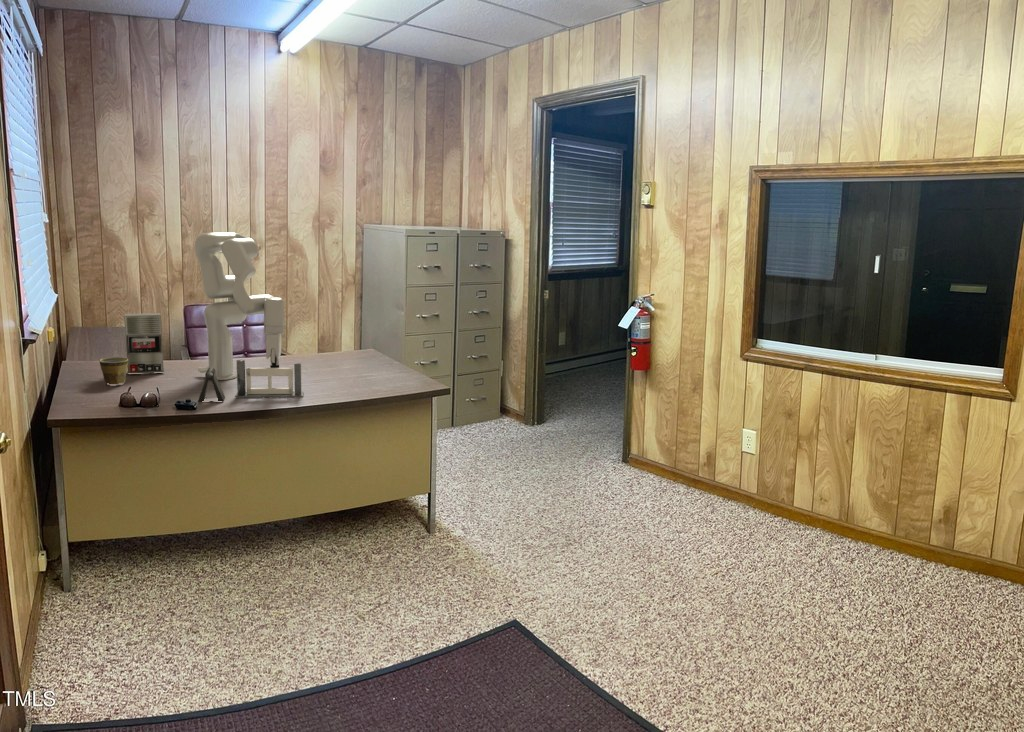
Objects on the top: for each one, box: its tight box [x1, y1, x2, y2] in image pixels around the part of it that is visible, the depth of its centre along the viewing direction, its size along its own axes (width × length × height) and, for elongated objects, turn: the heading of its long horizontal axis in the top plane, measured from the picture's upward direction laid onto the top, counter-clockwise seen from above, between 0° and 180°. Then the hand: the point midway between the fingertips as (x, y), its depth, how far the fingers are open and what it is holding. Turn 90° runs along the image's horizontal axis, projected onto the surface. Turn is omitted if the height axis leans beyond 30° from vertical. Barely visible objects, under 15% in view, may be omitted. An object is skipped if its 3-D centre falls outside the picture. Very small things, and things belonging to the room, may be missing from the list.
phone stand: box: [197, 368, 226, 403], centre depth 287 cm, size 9×6×12 cm, turn 105°
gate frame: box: [234, 359, 305, 399], centre depth 296 cm, size 25×6×14 cm, turn 102°
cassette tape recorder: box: [123, 312, 165, 374], centre depth 320 cm, size 14×6×25 cm, turn 114°
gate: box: [245, 367, 294, 394], centre depth 297 cm, size 17×2×10 cm, turn 101°
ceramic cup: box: [99, 356, 128, 384], centre depth 303 cm, size 13×10×10 cm
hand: (274, 374), depth 303 cm, fingers closed
